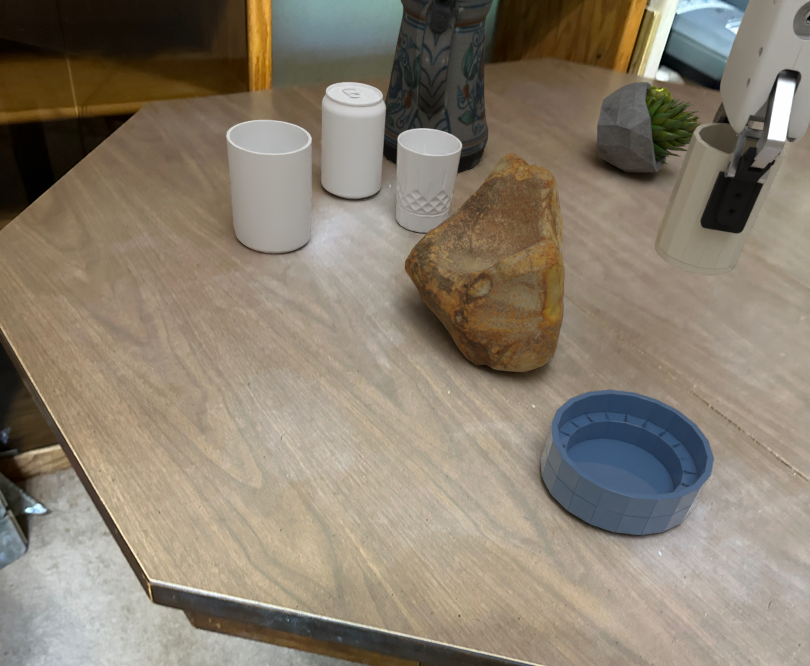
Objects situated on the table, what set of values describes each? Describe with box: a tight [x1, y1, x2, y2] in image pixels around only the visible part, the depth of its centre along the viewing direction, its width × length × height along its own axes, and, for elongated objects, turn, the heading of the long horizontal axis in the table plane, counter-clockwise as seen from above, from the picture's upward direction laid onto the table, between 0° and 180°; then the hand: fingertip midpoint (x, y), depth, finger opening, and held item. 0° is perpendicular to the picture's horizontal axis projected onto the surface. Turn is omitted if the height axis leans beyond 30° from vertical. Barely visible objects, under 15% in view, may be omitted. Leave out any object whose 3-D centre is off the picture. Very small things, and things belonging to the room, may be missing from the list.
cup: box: [654, 122, 788, 276], centre depth 61 cm, size 7×7×9 cm
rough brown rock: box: [404, 152, 566, 373], centre depth 81 cm, size 23×17×15 cm
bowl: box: [539, 389, 715, 536], centre depth 69 cm, size 14×14×5 cm
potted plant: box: [596, 81, 702, 174], centre depth 114 cm, size 12×13×15 cm
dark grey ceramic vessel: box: [383, 0, 494, 174], centre depth 105 cm, size 16×19×25 cm
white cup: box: [395, 128, 462, 234], centre depth 97 cm, size 8×8×10 cm
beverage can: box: [320, 81, 386, 200], centre depth 101 cm, size 8×8×12 cm
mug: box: [225, 119, 313, 254], centre depth 91 cm, size 10×12×12 cm
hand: (715, 204), depth 61 cm, fingers closed on cup, 7 cm apart
